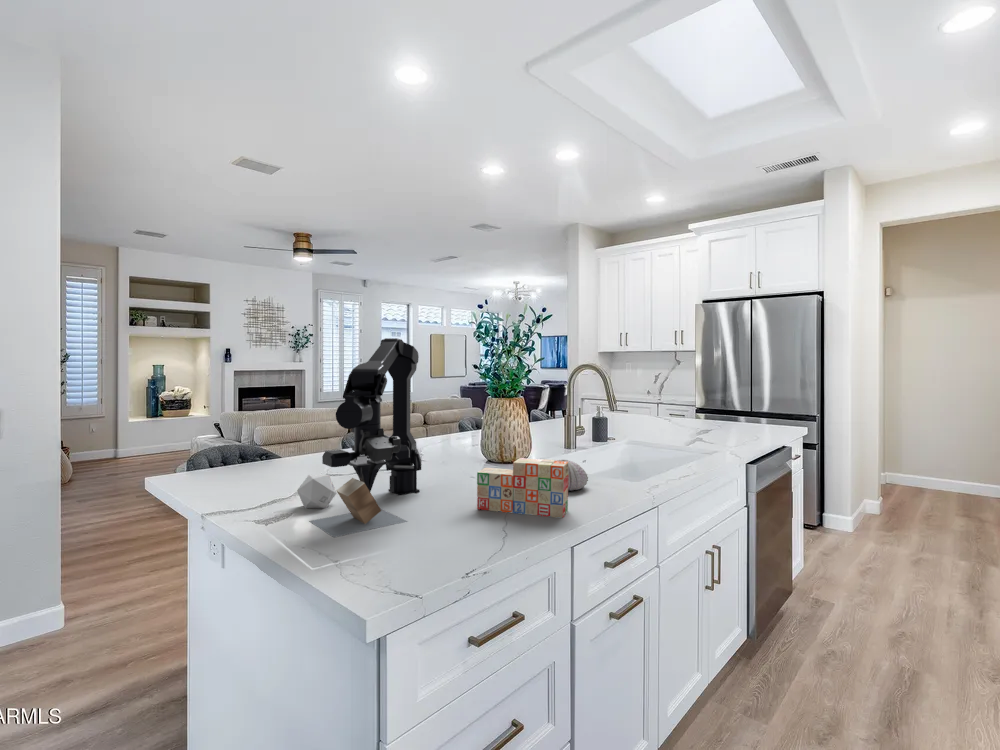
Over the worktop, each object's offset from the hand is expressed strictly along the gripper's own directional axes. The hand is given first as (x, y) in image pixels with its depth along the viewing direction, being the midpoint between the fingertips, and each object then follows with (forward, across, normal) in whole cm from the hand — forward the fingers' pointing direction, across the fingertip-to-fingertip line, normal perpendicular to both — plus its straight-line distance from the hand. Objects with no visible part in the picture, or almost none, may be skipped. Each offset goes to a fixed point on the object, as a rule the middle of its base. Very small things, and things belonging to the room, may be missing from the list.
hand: (367, 493), depth 119 cm
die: (+6, -5, +18) cm, 20 cm away
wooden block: (+5, 0, 0) cm, 5 cm away
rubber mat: (+6, -2, 0) cm, 7 cm away
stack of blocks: (+7, +33, -16) cm, 37 cm away
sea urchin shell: (+6, +57, -6) cm, 58 cm away
